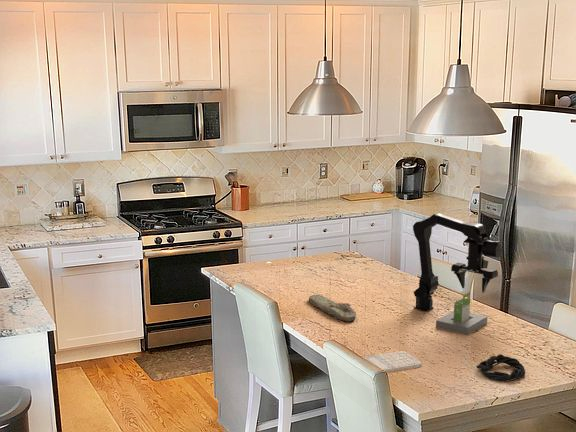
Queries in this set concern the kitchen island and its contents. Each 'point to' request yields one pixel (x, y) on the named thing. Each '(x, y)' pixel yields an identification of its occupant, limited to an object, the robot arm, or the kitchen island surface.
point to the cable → (496, 375)
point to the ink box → (462, 309)
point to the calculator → (394, 361)
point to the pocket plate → (459, 327)
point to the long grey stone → (333, 308)
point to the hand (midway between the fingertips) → (473, 290)
